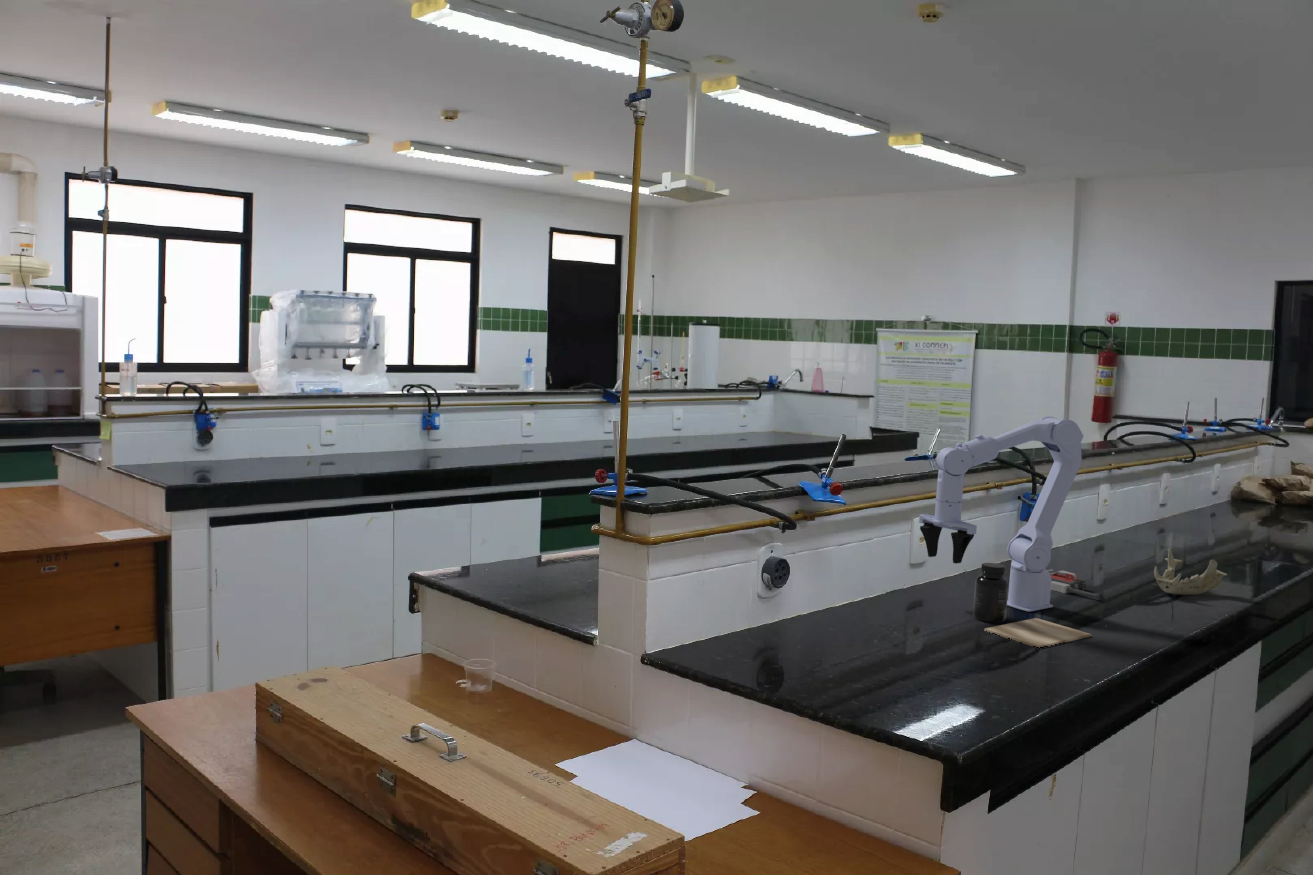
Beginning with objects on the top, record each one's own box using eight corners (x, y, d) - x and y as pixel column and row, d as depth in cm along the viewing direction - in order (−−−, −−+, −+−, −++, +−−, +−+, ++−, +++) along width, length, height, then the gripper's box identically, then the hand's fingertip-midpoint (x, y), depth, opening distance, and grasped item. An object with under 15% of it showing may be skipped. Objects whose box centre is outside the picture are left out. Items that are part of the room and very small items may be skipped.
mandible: (1195, 605, 237) (1199, 564, 236) (1130, 591, 248) (1134, 552, 247) (1227, 595, 249) (1231, 556, 248) (1164, 582, 261) (1167, 544, 260)
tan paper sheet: (1035, 620, 217) (1036, 617, 217) (1090, 636, 206) (1091, 633, 206) (984, 630, 206) (984, 628, 206) (1039, 648, 196) (1039, 645, 196)
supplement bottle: (1001, 615, 219) (1005, 562, 218) (1008, 624, 212) (1013, 569, 211) (969, 613, 220) (973, 560, 219) (976, 622, 213) (980, 567, 212)
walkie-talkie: (1021, 584, 252) (1095, 602, 236) (1022, 567, 252) (1097, 584, 236) (1040, 580, 257) (1114, 598, 242) (1041, 563, 257) (1116, 580, 241)
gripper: (912, 496, 228) (907, 554, 229) (964, 507, 216) (959, 568, 217) (932, 495, 232) (928, 551, 233) (984, 505, 220) (979, 565, 221)
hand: (944, 559), depth 226 cm, fingers open, 6 cm apart
